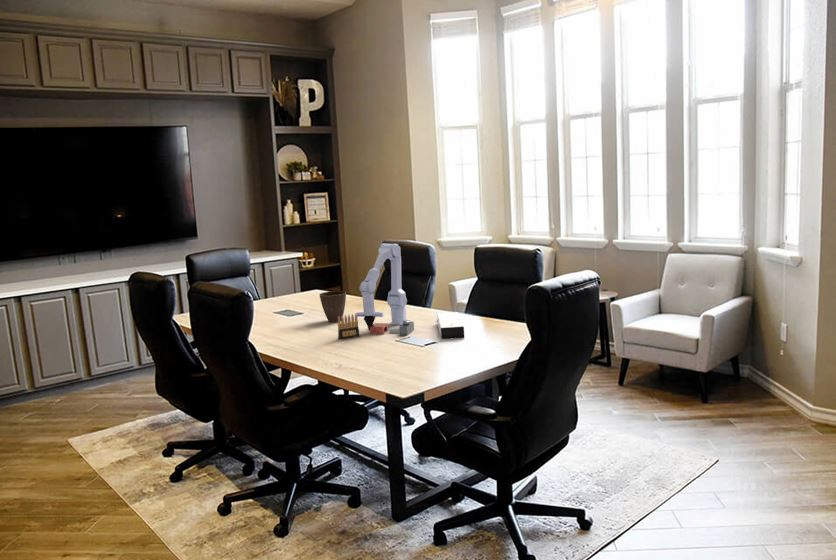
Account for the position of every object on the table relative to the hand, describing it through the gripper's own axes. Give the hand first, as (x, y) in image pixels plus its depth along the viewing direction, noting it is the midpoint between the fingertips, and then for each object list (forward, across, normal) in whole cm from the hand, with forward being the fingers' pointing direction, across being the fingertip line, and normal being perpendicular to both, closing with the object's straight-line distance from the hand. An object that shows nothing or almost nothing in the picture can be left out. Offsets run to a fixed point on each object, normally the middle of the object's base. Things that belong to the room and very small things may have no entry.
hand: (370, 330), depth 353 cm
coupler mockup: (+1, +16, 0) cm, 16 cm away
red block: (+1, +5, 0) cm, 5 cm away
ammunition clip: (+1, -7, -12) cm, 14 cm away
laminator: (+2, +41, +5) cm, 41 cm away
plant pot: (+1, -30, +24) cm, 39 cm away
